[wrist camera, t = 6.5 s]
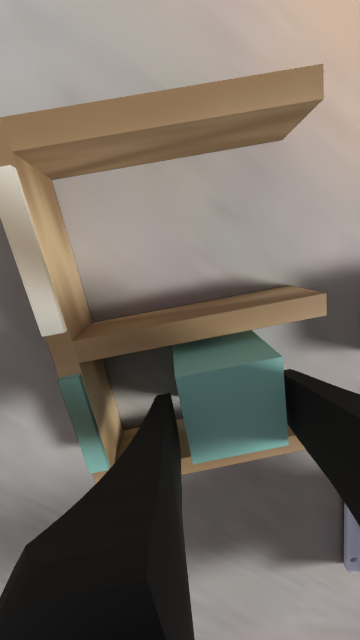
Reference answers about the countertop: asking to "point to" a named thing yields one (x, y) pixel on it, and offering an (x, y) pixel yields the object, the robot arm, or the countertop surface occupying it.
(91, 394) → the rack
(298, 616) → the countertop surface
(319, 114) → the countertop surface
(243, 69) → the countertop surface
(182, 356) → the teal plug block
